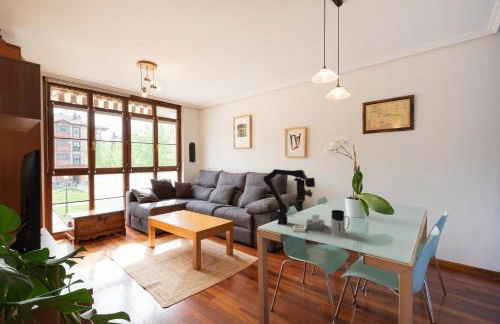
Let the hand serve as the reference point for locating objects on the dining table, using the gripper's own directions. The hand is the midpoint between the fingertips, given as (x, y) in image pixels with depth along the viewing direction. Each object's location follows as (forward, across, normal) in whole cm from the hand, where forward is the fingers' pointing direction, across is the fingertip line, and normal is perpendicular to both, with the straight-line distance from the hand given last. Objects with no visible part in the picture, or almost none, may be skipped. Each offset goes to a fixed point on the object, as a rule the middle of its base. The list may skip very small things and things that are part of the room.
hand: (301, 207), depth 173 cm
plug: (+12, -5, -10) cm, 17 cm away
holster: (+12, -13, +1) cm, 18 cm away
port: (+12, -5, -10) cm, 17 cm away
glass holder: (+13, -20, -25) cm, 34 cm away
